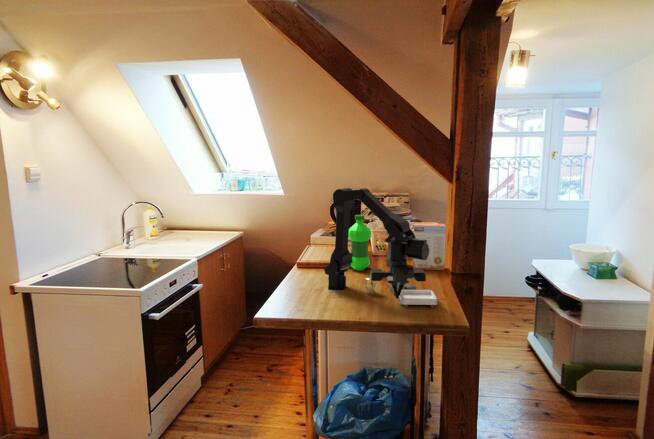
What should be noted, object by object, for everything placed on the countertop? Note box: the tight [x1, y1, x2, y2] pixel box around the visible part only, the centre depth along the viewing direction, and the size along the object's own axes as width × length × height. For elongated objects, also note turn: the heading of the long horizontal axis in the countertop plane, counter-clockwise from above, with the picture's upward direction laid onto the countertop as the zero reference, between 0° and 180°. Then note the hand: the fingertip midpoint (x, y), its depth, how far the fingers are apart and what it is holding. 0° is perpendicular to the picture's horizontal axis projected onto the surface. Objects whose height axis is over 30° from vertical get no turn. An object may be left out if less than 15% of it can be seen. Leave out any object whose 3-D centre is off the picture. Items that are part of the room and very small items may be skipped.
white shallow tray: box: [398, 289, 439, 309], centre depth 138 cm, size 12×9×3 cm
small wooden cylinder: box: [364, 276, 377, 296], centre depth 148 cm, size 4×4×6 cm
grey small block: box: [404, 284, 417, 290], centre depth 148 cm, size 4×4×3 cm
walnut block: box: [389, 283, 404, 296], centre depth 148 cm, size 4×4×6 cm
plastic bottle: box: [348, 214, 372, 272], centre depth 178 cm, size 10×10×25 cm
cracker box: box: [412, 222, 447, 271], centre depth 179 cm, size 14×6×21 cm, turn 77°
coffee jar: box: [385, 231, 408, 268], centre depth 184 cm, size 10×8×19 cm
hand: (397, 298), depth 138 cm, fingers closed
